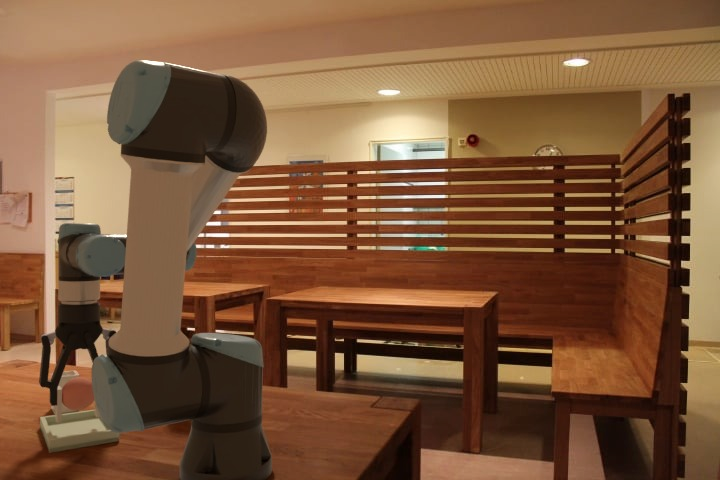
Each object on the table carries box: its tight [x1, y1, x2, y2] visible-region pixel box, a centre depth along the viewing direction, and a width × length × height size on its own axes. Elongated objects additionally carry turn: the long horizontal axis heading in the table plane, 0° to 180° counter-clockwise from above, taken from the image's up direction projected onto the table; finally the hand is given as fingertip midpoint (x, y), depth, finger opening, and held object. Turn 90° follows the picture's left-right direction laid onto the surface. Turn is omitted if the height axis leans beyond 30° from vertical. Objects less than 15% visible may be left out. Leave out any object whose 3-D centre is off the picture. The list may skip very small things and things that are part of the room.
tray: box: [39, 409, 120, 453], centre depth 120 cm, size 16×12×2 cm
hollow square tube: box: [50, 370, 80, 415], centre depth 136 cm, size 5×5×8 cm
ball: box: [62, 376, 95, 412], centre depth 120 cm, size 6×6×6 cm
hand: (78, 418), depth 120 cm, fingers closed on ball, 6 cm apart
